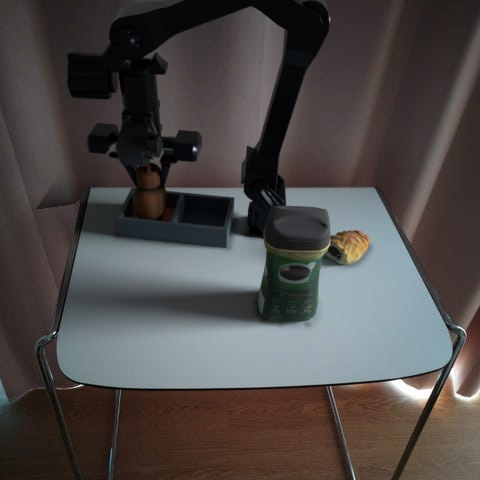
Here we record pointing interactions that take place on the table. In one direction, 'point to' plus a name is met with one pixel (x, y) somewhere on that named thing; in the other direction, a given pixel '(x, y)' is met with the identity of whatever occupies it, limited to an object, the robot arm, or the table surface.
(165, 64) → the robot arm
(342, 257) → the pastry
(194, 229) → the tray
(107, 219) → the table surface
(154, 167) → the wooden figurine
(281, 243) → the coffee jar
